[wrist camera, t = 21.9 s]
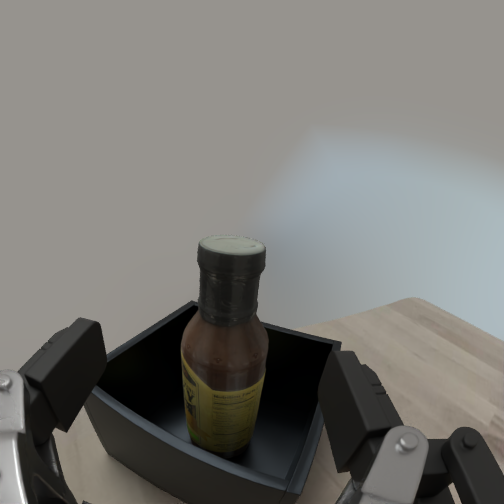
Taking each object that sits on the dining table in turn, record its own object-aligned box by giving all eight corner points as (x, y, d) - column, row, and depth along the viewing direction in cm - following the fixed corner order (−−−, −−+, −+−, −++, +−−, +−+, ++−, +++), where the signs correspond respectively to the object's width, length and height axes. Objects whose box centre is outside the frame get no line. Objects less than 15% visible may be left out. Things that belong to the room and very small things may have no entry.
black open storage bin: (106, 451, 17) (71, 375, 15) (191, 372, 32) (191, 300, 30) (268, 534, 12) (300, 495, 9) (315, 414, 27) (341, 341, 24)
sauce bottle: (194, 412, 25) (195, 225, 20) (252, 419, 25) (281, 234, 19) (182, 457, 19) (166, 247, 13) (249, 467, 19) (290, 261, 13)
